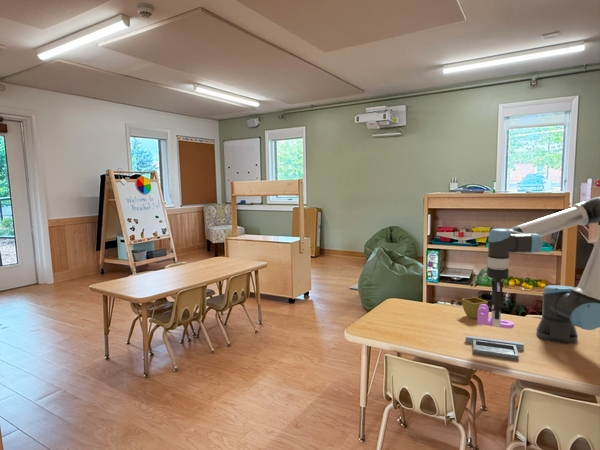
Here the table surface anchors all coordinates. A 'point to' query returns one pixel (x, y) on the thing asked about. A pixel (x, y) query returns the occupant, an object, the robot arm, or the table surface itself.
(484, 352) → the shallow rectangular tray
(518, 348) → the door edge
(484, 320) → the bracket
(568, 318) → the robot arm
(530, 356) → the table surface
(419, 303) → the table surface
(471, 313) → the flower pot
